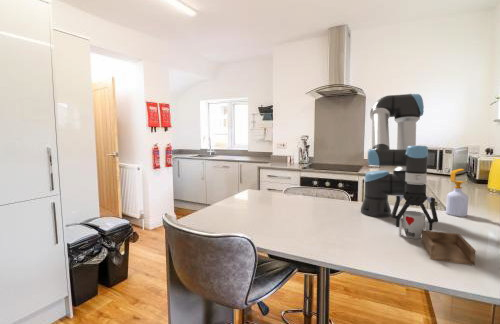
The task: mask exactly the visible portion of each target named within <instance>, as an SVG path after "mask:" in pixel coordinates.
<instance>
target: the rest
mask: <svg viewBox="0 0 500 324" xmlns="http://www.w3.org/2000/svg"><path fill="white" fill-rule="evenodd" d="M421 244H422V246H423V247H424V250H425V251H426V254H427V255H428V256H429V259H431V260H435V261H442V262H449V263H458V264H463V265H469V266H475V263H476V262H475V261H476V249H475V248H474V247H473V246H472V245H471V244H470V243H469V242H468V241H467V240H466V239H465V238H464V237H463V236H462V235H461V234H460V233H452V232H443V231H435V230H434V231H433V230H432V231H426V229H423V230H422V235H421Z"/></svg>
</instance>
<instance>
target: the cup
mask: <svg viewBox="0 0 500 324" xmlns="http://www.w3.org/2000/svg"><path fill="white" fill-rule="evenodd" d="M402 223H403V224H402V226H403V230H404V234H405V236H406V237H407V238H410V239H413V240H419V239H420V238H422V230H424V229H425V228H424V227H425V225H426V215H425V214H424V212H421V211H416V210H406V211H405V212H404V214H403V215H402Z"/></svg>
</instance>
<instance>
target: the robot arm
mask: <svg viewBox="0 0 500 324" xmlns="http://www.w3.org/2000/svg"><path fill="white" fill-rule="evenodd" d="M424 108H425V107H424V99H423V97H422V95H420V93H407V94H393V95H392V94H391V95H385V96H382V97H381V98H380V99H378V100H377V101H376V102H375V103H373V105H372V107H371V108H370V109H371V110H370V114H369V116H370V120H371V121H372V123H371V148H370V149H368V150H367V164H368V165H369V166H378V167H379V166H382V167H384V166H386V167H388V166H389V167H395V168H394V169H393V170H392V171H393V172H392V173H390V172H389V170H373V171H369V172H366V173H365V177H364V198H363V202H362V204H361V205H360V213H361V214H363V215H365V216H368V217H378V218H386V217H387V218H388V217H390V216H391V217H392V219H395V226H396V228H398V232H397V233H398V236H399V237H400V236H402V226H403V224H402V223H403V219H402V218H403V214H404V212H405V211H408V210H407V209H408V208H409V207H410V206H413V207H414V206H416V207H420V208H421V210H422V213H424V214H425V215H426V216H425V219H426V220H427V221H426V220H425V230H426V231H433V223H438V222H439V218H438V214H437V213H438V212H437V209H436V205H435V202H436V198H435V197H433V196H427V184H426V183H427V174H428V158H429V157H428V156H429V151H428V150H429V149H428V146H426V145H417V144H416V143H417V140H416V139H417V122H418V121H419V120H420V118H421V117H422V116H423V115H424V113H425V112H424V111H425V109H424ZM390 118H394V121H395V123H397V128H396V129H397V131H396V132H397V133H396V134H397V136H396V137H397V138H396V139H397V141H396V149H391V148H390V132H389V131H390V130H389V119H390ZM389 196H394V197H395V199H396V200H395V203H394V206H393V209H392V210H391V207H390V206H391V205H390V203H389ZM403 199H404V201H405V203H404V204H403V206H402V207H401V209H400V210H399V212H398V209H399V206H400V203H401V201H402V200H403ZM426 201H428V203H429V206H430V212H431V216H432V217H431V216H430V214H429V212H428V210H427V208H426V206H425V204H424V203H425V202H426ZM397 212H398V213H397Z"/></svg>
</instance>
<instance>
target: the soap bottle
mask: <svg viewBox="0 0 500 324" xmlns="http://www.w3.org/2000/svg"><path fill="white" fill-rule="evenodd" d="M462 171H463V172H464V171H465V169H464V168H456V169H454V170H451V172H450V182H452V183H454V184H455V186H454V187H453V191H450V192H449V193H447V195H446V206H445V213H446V214H447V215H450V216H453V217H467V216H468V207H469V196H468V195H467V193H464V192H463V191H462V190H463V187H462V186H461V185H463V184H465V183H466V182H465V181H461V180H456V176H457V173H459V172H462Z"/></svg>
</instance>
